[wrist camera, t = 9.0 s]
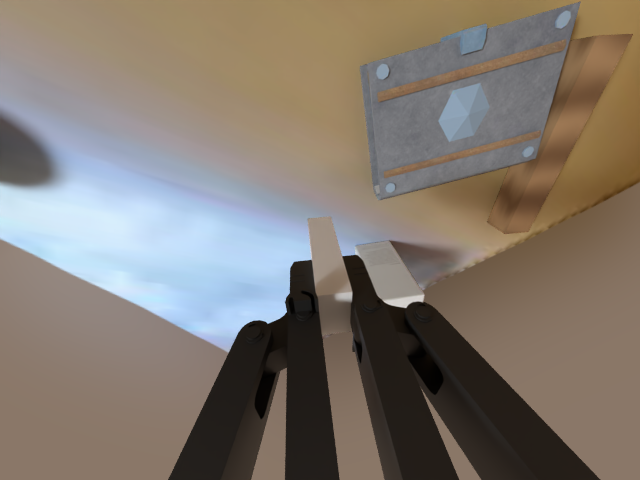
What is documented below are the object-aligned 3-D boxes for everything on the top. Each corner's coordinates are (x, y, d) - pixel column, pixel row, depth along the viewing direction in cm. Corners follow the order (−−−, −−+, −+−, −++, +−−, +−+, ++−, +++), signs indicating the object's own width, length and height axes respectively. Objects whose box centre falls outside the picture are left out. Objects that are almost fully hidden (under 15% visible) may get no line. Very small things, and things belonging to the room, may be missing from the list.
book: (373, 193, 35) (383, 206, 31) (358, 62, 26) (370, 56, 22) (509, 157, 34) (539, 166, 30) (543, 8, 25) (592, -8, 21)
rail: (559, 42, 27) (597, 35, 23) (591, 40, 27) (633, 33, 24) (487, 222, 40) (504, 234, 37) (508, 220, 40) (528, 231, 37)
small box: (387, 273, 44) (418, 332, 34) (355, 278, 44) (375, 339, 33) (390, 239, 40) (426, 294, 29) (354, 244, 40) (377, 302, 29)
